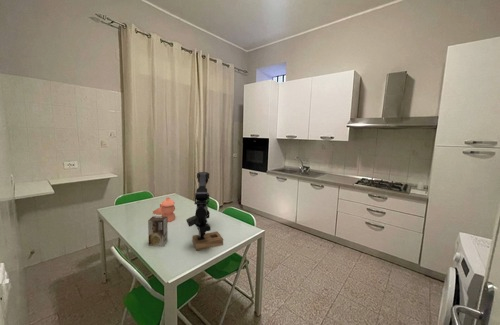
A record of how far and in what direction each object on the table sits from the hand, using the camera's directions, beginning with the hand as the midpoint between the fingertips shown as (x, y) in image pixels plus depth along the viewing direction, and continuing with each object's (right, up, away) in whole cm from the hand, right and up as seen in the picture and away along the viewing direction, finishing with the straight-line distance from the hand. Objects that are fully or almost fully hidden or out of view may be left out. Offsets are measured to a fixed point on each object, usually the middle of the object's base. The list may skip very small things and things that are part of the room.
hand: (201, 236), depth 122 cm
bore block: (+3, -5, +2) cm, 6 cm away
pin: (0, -3, 0) cm, 3 cm away
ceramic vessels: (-41, 0, +42) cm, 58 cm away
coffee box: (-25, -4, -1) cm, 26 cm away
